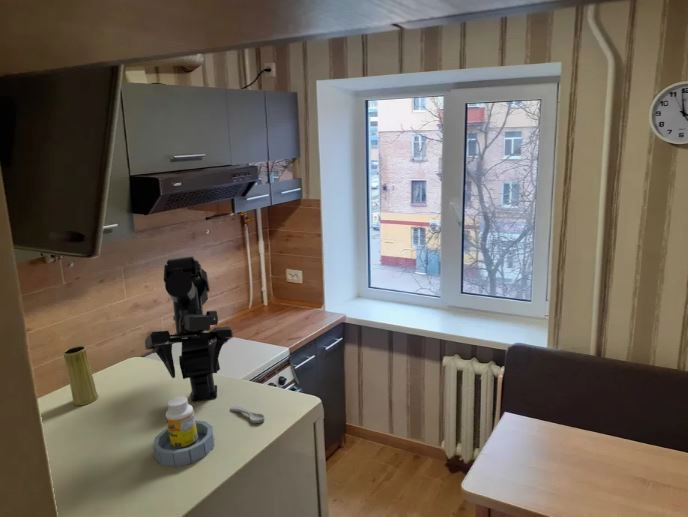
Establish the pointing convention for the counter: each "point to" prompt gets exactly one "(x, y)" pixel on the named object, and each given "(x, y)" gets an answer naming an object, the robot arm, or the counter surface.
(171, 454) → the bowl
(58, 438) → the counter surface
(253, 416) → the spoon
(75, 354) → the vase
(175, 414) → the supplement bottle
